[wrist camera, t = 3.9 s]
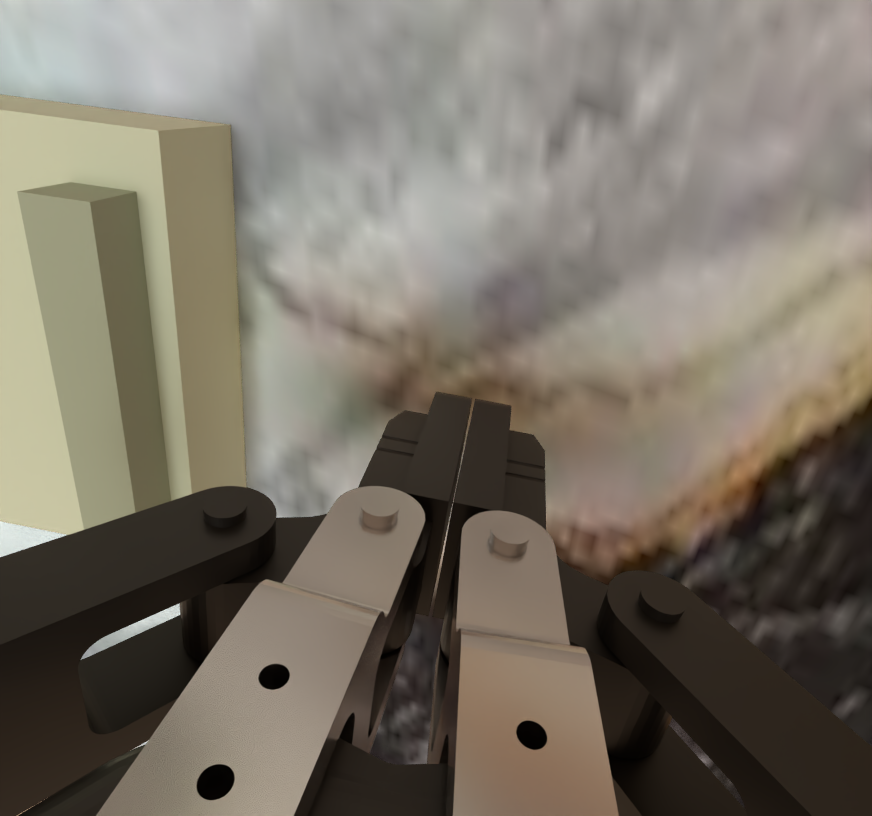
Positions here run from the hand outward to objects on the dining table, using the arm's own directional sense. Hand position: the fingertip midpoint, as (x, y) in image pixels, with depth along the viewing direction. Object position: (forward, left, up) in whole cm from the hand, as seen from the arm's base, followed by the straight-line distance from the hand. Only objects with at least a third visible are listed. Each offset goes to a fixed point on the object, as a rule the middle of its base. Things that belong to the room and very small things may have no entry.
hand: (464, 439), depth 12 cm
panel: (+11, 0, -2) cm, 11 cm away
